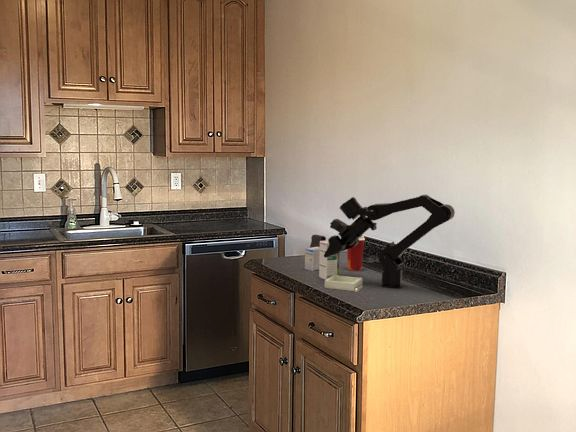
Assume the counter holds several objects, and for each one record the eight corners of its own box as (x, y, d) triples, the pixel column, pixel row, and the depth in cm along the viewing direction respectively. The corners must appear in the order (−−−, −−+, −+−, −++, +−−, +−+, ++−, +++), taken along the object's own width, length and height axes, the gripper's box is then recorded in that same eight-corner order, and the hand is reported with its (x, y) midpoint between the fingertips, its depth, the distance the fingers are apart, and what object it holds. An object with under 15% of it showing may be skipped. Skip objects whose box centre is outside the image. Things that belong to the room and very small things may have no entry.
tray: (362, 284, 237) (362, 277, 237) (354, 291, 227) (354, 283, 227) (333, 281, 241) (333, 274, 241) (324, 287, 231) (324, 280, 231)
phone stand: (314, 265, 273) (315, 237, 271) (305, 262, 277) (306, 235, 276) (330, 262, 278) (331, 235, 277) (321, 260, 283) (321, 233, 281)
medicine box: (315, 266, 269) (316, 246, 268) (324, 268, 266) (325, 247, 265) (304, 269, 263) (304, 248, 262) (313, 271, 260) (313, 250, 259)
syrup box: (325, 280, 244) (326, 242, 242) (318, 277, 249) (319, 240, 247) (339, 279, 246) (340, 241, 244) (331, 276, 251) (332, 239, 250)
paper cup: (367, 269, 266) (368, 235, 264) (356, 271, 260) (357, 237, 259) (352, 266, 271) (353, 233, 269) (341, 269, 266) (342, 235, 264)
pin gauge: (362, 284, 233) (363, 287, 233) (359, 285, 233) (360, 288, 233) (356, 289, 225) (357, 292, 225) (353, 290, 226) (354, 293, 226)
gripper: (352, 210, 251) (325, 235, 257) (334, 214, 234) (305, 241, 240) (371, 232, 248) (343, 257, 254) (353, 238, 232) (324, 265, 238)
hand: (329, 254), depth 247 cm, fingers open, 9 cm apart
